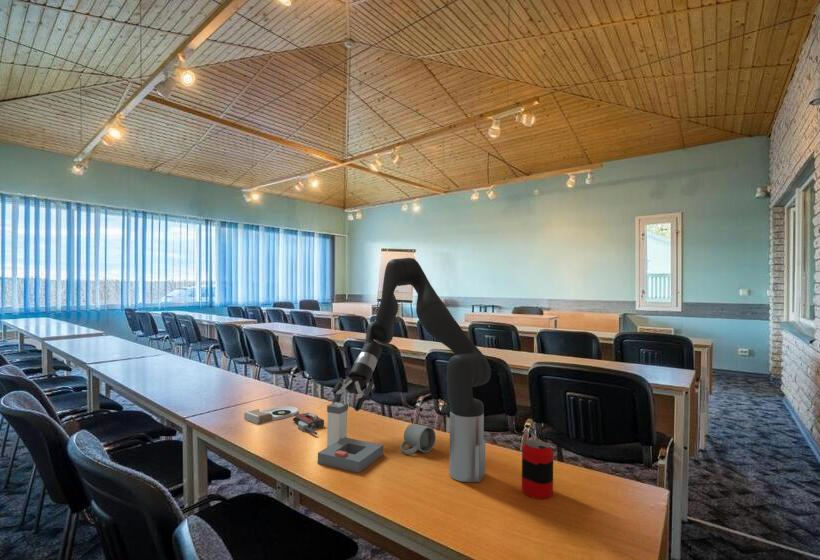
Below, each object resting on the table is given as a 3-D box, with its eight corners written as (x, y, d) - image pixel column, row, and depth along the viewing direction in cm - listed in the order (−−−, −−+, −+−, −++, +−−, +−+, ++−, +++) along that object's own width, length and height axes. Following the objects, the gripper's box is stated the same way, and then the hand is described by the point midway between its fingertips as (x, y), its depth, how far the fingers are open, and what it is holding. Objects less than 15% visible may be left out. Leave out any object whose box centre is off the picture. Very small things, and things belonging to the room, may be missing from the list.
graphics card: (242, 411, 160) (287, 401, 175) (242, 419, 160) (286, 408, 175) (259, 417, 152) (304, 406, 168) (258, 425, 152) (303, 414, 168)
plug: (347, 443, 135) (348, 403, 135) (338, 449, 131) (339, 407, 131) (335, 441, 137) (335, 402, 137) (326, 446, 133) (327, 405, 133)
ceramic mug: (417, 442, 138) (417, 418, 138) (436, 449, 132) (436, 424, 132) (394, 451, 130) (394, 426, 130) (412, 459, 124) (412, 433, 124)
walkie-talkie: (287, 423, 155) (313, 438, 140) (287, 411, 155) (313, 425, 140) (308, 419, 161) (335, 432, 146) (308, 407, 161) (336, 420, 146)
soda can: (532, 501, 100) (533, 451, 100) (516, 486, 107) (516, 440, 107) (559, 497, 102) (559, 448, 102) (541, 483, 109) (541, 437, 110)
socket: (383, 454, 127) (383, 442, 127) (358, 472, 114) (359, 459, 114) (344, 446, 132) (345, 434, 133) (317, 463, 120) (317, 450, 120)
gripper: (343, 359, 149) (322, 399, 138) (377, 363, 143) (359, 404, 132) (350, 372, 154) (331, 411, 143) (384, 375, 148) (367, 417, 137)
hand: (345, 408), depth 138 cm, fingers open, 8 cm apart
